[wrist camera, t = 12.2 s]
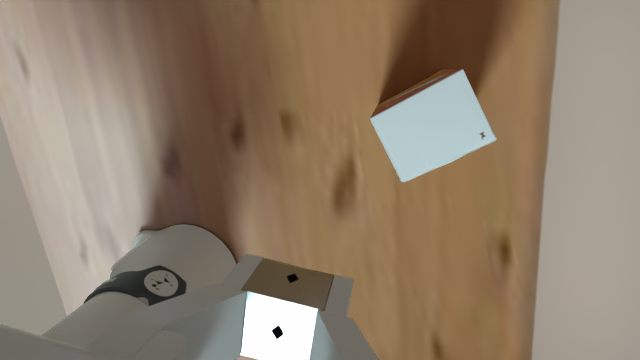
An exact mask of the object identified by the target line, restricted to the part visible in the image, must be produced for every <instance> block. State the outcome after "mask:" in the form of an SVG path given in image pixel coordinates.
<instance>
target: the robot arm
mask: <svg viewBox="0 0 640 360" xmlns="http://www.w3.org/2000/svg"><path fill="white" fill-rule="evenodd" d="M111 270H112V272H111V275H110V280H107V281H106V282H104V283H103V284H101V285H100V286H99V287H97V289H95V290H94V292H93V293H91V294H90V295H89V296H88V297H87V299H86V300H85V302H84V304H83V305H82V306H80V307H79V308H78V309H76V310H75V311H74V312H72V313H71V314H70V315H68V316H67V317H66V318H64V319H63V320H62V321H60V322H59V323H58V324H56V325H55V326H54V327H52V328H51V329H50V330H48V331H47V332H46V333H44V334H43V335H42V336H41V335H37V334H34V333H30V332H27V331H24V330H20V329H17V328H13V327H10V326H7V325H3V324H0V360H236V359H237V358H238V357H240V354H241V355H245V356H249V357H253V358H257V359H261V360H379V359H378V357H377V356H376V354H375V353H374V351H373V349H372V348H371V346H370V345H369V343H368V342H367V340H366V339H365V337H364V336H363V334H362V333H361V331H360V330H359V328H358V326H357V325H356V323H355V322H354V320H353V319H352V318H349V317H347V313H348V308H349V303H350V297H351V292H352V287H353V282H354V280H353V278H349V277H344V276H338V275H335V276H334V275H333V274H328V273H324V272H319V271H314V270H310V269H305V268H300V267H298V266H294V265H291V264H287V263H283V262H279V261H275V260H271V259H267V258H264V257H260V256H255V255H251V254H245V255H244V256H243V257H242V258H241V260H240V261H239V262H238V263H237V264H236V262H235V260H234V257H233V255H232V254H231V252H230V251H229V249H228V248H227V247H226V245H225V244H224V243H223V242H222V241H221V240H220V239H219V238H217V237H216V236H215V235H213V234H212V233H210V232H209V231H207V230H205V229H202V228H200V227H197V226H193V225H186V224H181V225H174V226H170V227H168V228H165V229H163V230H160V231H151V230H146V231H142V232H140V233H139V234H138V235H137V236H136V238H135V243H134V248H133V249H132V250H131V251H130V252H128V253H127V254H126V255H125V256H123V257H122V258H121V259H120V260H119V261H117V262H116V263H115V264H114V265H113V266H112V268H111Z"/></svg>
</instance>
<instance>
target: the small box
mask: <svg viewBox="0 0 640 360" xmlns="http://www.w3.org/2000/svg"><path fill="white" fill-rule="evenodd" d="M370 121H371V123H372V125H373V127H374V128H375V130H376V132H377V134H378V136H379V138H380V140H381V142H382V144H383V146H384V148H385V150H386V152H387V154H388V156H389V158H390V160H391V162H392V164H393V166H394V168H395V170H396V172H397V174H398V176H399V178H400V180H401V182H406V181H408V180H411V179H413V178H415V177H418V176H420V175H422V174H424V173H427V172H429V171H431V170H433V169H436V168H438V167H440V166H443V165H446V164H448V163H450V162H452V161H454V160H457V159H459V158H461V157H462V156H464V155H466V154H468V153H470V152H472V151H474V150H477V149H479V148H481V147H483V146H485V145H487V144H489V143H491V142H494V141H495V140H497V138H496V136H495V134H494V132H493V130H492V128H491V126H490V124H489V122H488V120H487V118H486V116H485V114H484V112H483V110H482V108H481V106H480V103H479V101H478V99H477V97H476V95H475V93H474V91H473V89H472V87H471V85H470V83H469V81H468V78H467V76H466V74H465V72H464V69H442V70H440V71H438V72H437V73H435V74H433V75H432V76H430V77H428V78H426V79H425V80H423V81H421V82H419V83H417V84H416V85H414V86H412V87H410V88H408V89H406V90H405V91H403V92H401V93H399V94H397V95H395V96H393V97H392V98H390V99H388V100H386V101H384V102H382V103H380V104H378V105H377V107H376V109H375V111H374V112H373V114H372V116H371V117H370Z"/></svg>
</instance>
